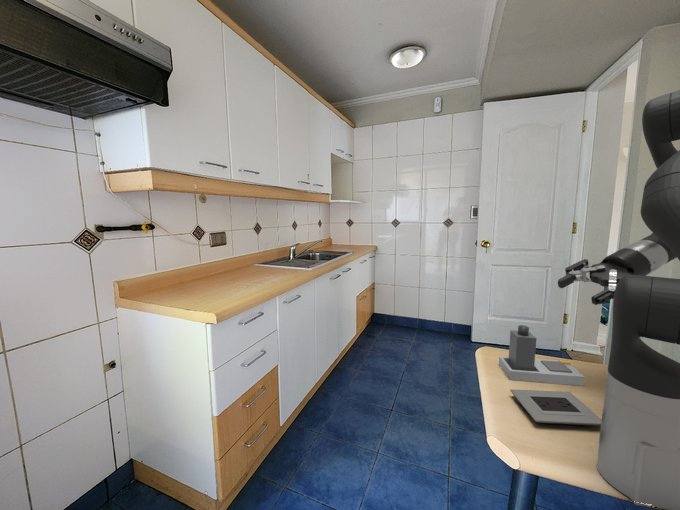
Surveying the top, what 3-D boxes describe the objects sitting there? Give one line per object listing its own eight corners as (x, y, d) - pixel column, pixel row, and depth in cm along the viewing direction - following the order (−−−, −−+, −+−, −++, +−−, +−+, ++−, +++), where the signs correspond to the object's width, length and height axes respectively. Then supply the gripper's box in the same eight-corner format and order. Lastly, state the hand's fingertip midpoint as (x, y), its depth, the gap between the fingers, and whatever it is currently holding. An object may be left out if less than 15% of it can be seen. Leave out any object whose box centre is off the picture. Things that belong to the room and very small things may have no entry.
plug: (533, 378, 76) (537, 330, 74) (514, 376, 76) (517, 329, 75) (525, 369, 80) (529, 324, 78) (507, 367, 81) (511, 323, 79)
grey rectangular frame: (584, 385, 72) (585, 375, 71) (509, 379, 75) (510, 369, 75) (565, 369, 80) (566, 359, 79) (498, 364, 83) (499, 354, 82)
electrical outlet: (569, 400, 67) (570, 390, 67) (606, 433, 57) (607, 422, 56) (509, 397, 68) (510, 388, 68) (535, 430, 58) (536, 419, 58)
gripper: (602, 239, 74) (547, 269, 74) (671, 258, 61) (605, 294, 61) (604, 263, 77) (551, 291, 77) (671, 286, 64) (607, 320, 64)
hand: (575, 292), depth 69 cm, fingers open, 8 cm apart
